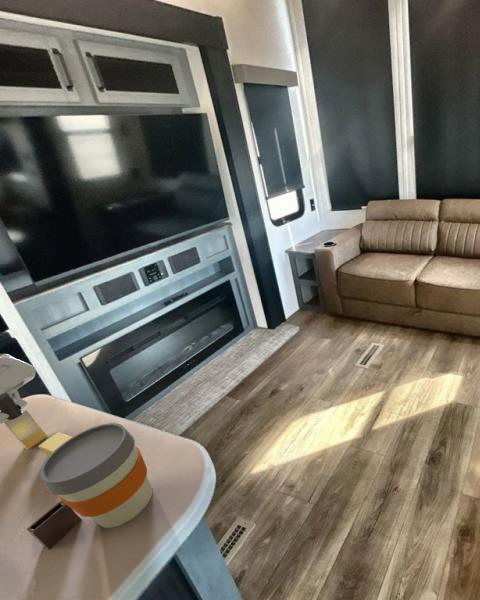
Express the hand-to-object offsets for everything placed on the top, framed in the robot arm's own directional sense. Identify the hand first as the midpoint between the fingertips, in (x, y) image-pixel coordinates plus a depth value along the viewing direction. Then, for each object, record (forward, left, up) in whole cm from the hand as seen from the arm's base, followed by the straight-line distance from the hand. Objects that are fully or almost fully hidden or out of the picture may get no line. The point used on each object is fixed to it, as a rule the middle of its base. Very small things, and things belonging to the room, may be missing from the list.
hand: (14, 413), depth 81 cm
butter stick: (+8, -6, -10) cm, 14 cm away
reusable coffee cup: (+28, -25, -10) cm, 39 cm away
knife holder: (+19, -27, -10) cm, 34 cm away
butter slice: (-2, +1, -10) cm, 10 cm away
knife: (-1, 0, -7) cm, 7 cm away
